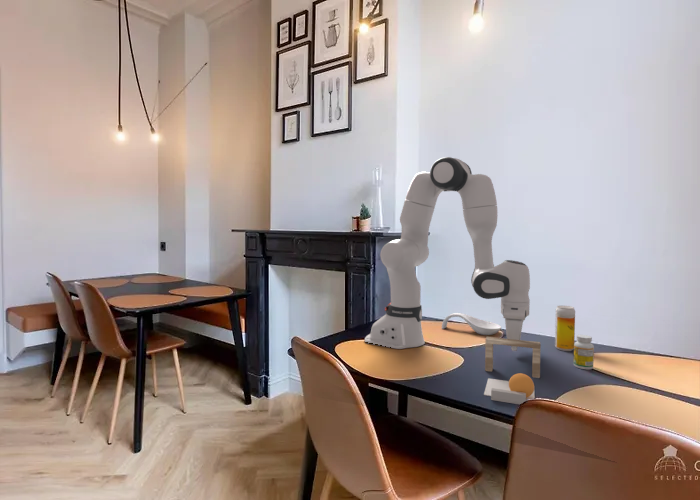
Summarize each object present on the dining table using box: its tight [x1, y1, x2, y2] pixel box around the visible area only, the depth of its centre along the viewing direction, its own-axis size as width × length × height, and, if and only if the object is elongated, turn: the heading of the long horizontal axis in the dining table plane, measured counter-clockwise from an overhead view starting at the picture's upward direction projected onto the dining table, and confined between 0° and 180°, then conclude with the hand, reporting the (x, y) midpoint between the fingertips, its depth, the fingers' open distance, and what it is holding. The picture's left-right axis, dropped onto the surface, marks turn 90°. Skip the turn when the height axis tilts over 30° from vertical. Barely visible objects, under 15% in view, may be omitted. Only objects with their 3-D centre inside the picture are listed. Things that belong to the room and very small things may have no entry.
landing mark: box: [483, 377, 536, 400], centre depth 108 cm, size 12×12×1 cm
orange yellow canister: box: [554, 305, 576, 352], centre depth 143 cm, size 6×6×15 cm
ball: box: [508, 372, 535, 398], centre depth 104 cm, size 6×6×6 cm
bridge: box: [484, 336, 542, 379], centre depth 121 cm, size 3×15×10 cm, turn 66°
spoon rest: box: [441, 312, 502, 336], centre depth 168 cm, size 24×12×7 cm, turn 61°
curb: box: [490, 388, 526, 405], centre depth 101 cm, size 8×2×2 cm, turn 66°
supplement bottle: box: [573, 334, 595, 370], centre depth 125 cm, size 5×5×10 cm
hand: (514, 349), depth 136 cm, fingers closed
